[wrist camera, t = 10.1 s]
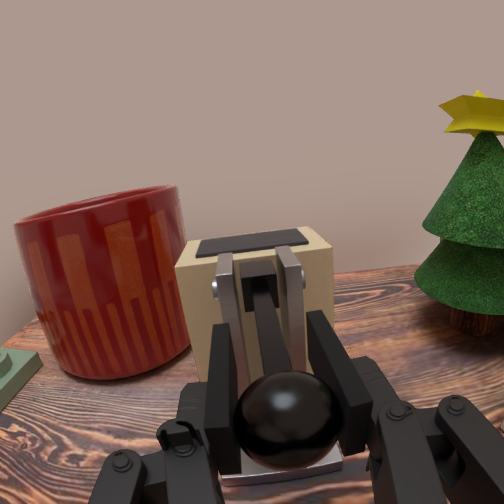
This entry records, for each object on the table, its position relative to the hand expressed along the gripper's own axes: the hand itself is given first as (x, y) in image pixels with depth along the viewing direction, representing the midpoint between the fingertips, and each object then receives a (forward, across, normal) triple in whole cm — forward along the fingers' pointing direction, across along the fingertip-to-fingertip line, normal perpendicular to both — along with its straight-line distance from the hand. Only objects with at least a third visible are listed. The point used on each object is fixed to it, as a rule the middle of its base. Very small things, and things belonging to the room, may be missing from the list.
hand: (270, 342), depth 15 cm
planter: (+26, -19, -14) cm, 35 cm away
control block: (+13, -37, -13) cm, 42 cm away
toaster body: (+14, 0, -14) cm, 19 cm away
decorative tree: (+15, +29, -14) cm, 35 cm away
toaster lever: (0, 0, -1) cm, 2 cm away
